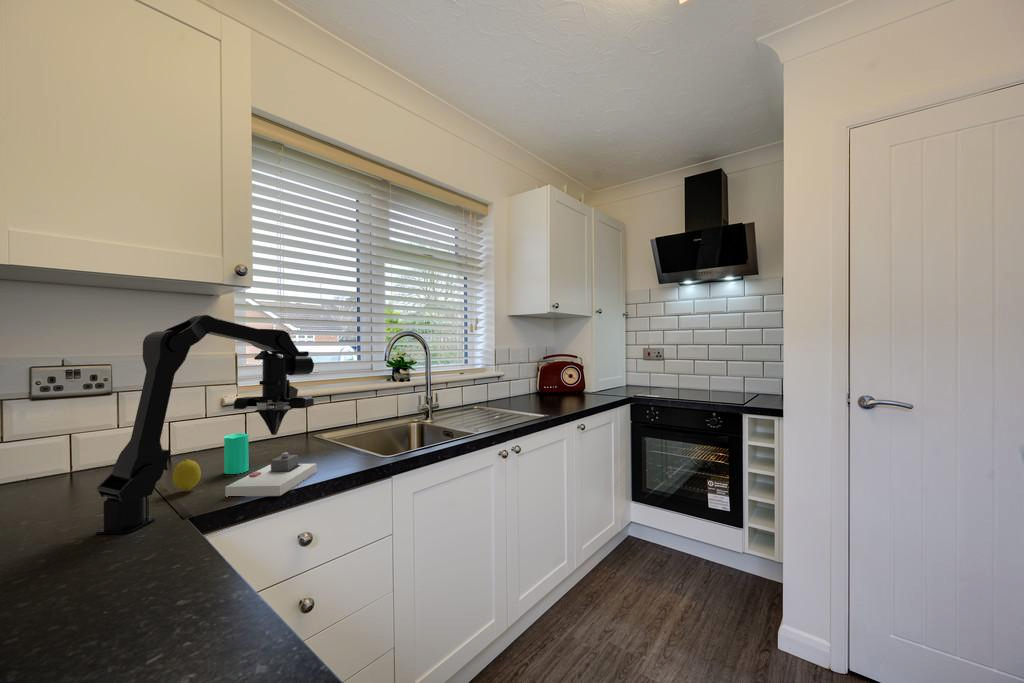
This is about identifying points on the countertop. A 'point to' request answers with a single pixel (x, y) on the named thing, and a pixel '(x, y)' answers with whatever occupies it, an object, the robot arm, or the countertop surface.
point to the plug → (284, 463)
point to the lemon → (186, 475)
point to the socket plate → (270, 481)
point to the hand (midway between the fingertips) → (274, 434)
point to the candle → (236, 453)
